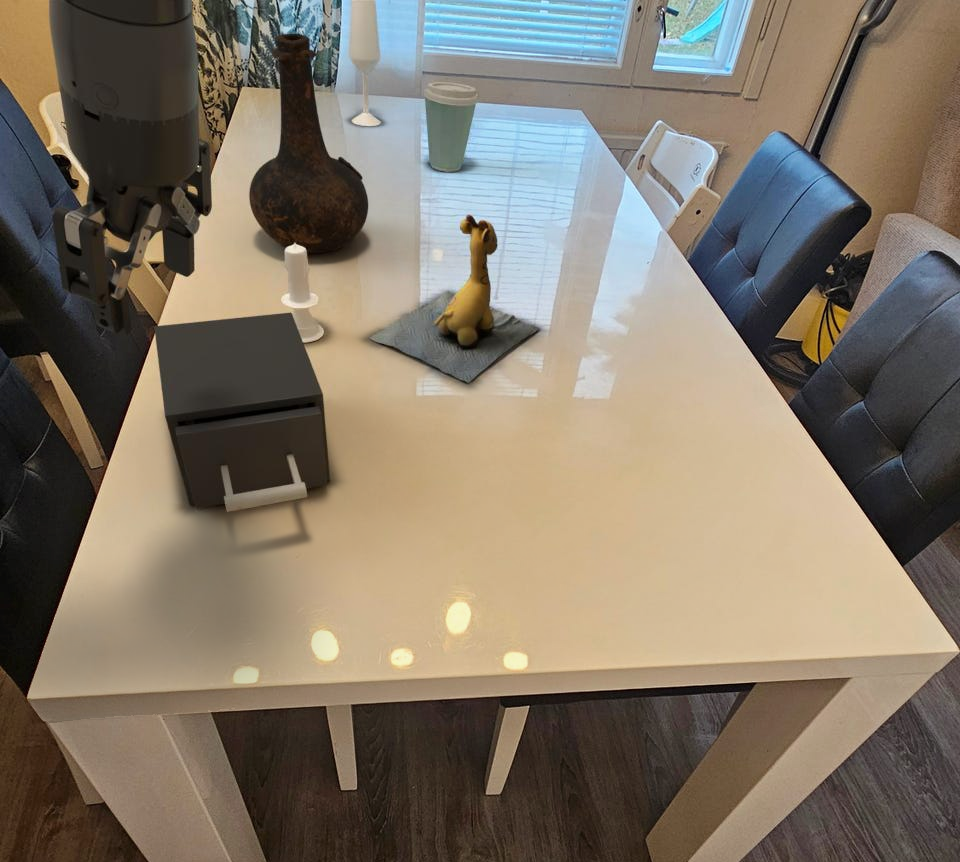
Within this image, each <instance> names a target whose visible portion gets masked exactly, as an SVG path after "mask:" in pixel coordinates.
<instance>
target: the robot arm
mask: <svg viewBox="0 0 960 862" xmlns="http://www.w3.org/2000/svg"><path fill="white" fill-rule="evenodd" d="M48 20H49V21H48V22H49V30H50V31H49V32H50V37H51V38H50V39H51V45H52V50H53V57H54V64H55V68H56V75H57V81H58V82H57V83H58V88H59V94H60V99H61V106H62V113H63V119H64V124H65V131H66V137H67V143H68V146H69V149H70V151H71V153H72V154H73V156H74V157H75V159H76V160H77V161H78V163H79V165H80V166H81V167H82V169H83V170H84V171H85V173H86V176H87V177H88V189H87V194H86V203H85V204H84V205H82V206H80V207H79V208H77V209H75V210H72V209H69V208H68V207H65V206H63V205H59V206H57V207H55V209H54V211H53V212H52V216H51V217H52V219H51V221H52V225H53V226H52V227H53V233H54V239H55V246H56V254H57V260H58V261H57V262H58V267H59V274H60V280H61V287H62V290H63V291H64V292H66V293H68V294H71V295H74V296H76V297H78V298H81V299H83V300H85V301H87V302H90V303H91V304H92V311H93V315H94V323H95V324H96V325H97V327H99V328H101V329H103V330H105V331H107V332H110V333H112V334H114V335H117V336H118V337H122V338H125V337H126V336H127V335H128V334H129V333H131V331H132V329H133V328H132V320H131V312H130V311H131V310H130V303H129V296H128V295H129V294H128V292H127V288H128V284H129V281H130V277H131V275H132V273H133V270H134V269H139V268H140V267H141V266H142V264H143V261H144V257H145V255H146V251H147V248H148V245H149V242H151V240H152V239H153V238H154V236H155V235H156V234H157V233H159V232H161V233H162V235H161V236H162V250H163V251H162V252H163V263H164V266H165V267H166V268H167V269H168V270H170V271H172V272H173V273H176V274H178V275H181V276H183V277H186V278H188V277H190V276H191V275H192V274H194V272H195V270H196V269H195V235H197V233H198V231H199V229H200V225H201V222H200V219H199V218H200V217H201V216H204V217H208V216H209V215H210V213H211V211H212V207H213V199H212V198H213V197H212V170H211V166H212V165H211V147H210V146H211V145H210V143H209V142H208V141H206V140H204V139H201V138H200V117H199V115H200V114H199V113H200V112H199V111H200V110H199V109H200V107H199V105H200V104H199V103H200V102H199V55H198V54H199V53H198V44H197V37H196V30H195V24H194V13H193V0H48ZM189 185H190V186H192V187H194V188H195V190H196V192H197V193H194V192H192V191H190V190H189ZM107 231H108V232H109V233H110V234H111V235H113V236H114V237H116V238H118V239H119V240H122V241H124V242H127V243H129V245H128V247H127V248H126V250H123V249H120V248H118V247H116V246H113V245H111V244H110V243H109V238H108V237H107V236H105V234H106V232H107ZM106 258H108V259H110V260H112V261H114V263H115V267H114V271H113V275H112V277H111V276H110V275H108V270H107V259H106ZM81 273H82V274H81Z"/></svg>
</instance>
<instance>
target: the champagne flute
mask: <svg viewBox="0 0 960 862" xmlns="http://www.w3.org/2000/svg"><path fill="white" fill-rule="evenodd" d="M377 16H378V15H377V5H376V0H350V22H349V23H350V25H349V43H348V44H349V47H348V48H349V49H348V56H349V59H350V62H351V63H352V64H353V65H354V66H355V68H356V69H357V70H358V72H360V73H362V107H363V110H362V111H363V112H361V113H360V114H359V115H357V116H355V117H353V118H352V119H351V123H352V124H355V125H357V126H362V127H376V126H379V125H381V124H382V122H381V120H379V119H378V118H377V117H375V116H374V115H373V114H371V113H370V112H369V111H370V110H369V109H370V108H369V73H371V72H372V71H373V70H374V69H375V68H376V66H377V65H378V64H379V62H380V60H381V51H380V49H381V48H380V38H379V27H378V17H377Z"/></svg>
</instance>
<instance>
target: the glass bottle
mask: <svg viewBox="0 0 960 862" xmlns="http://www.w3.org/2000/svg"><path fill="white" fill-rule="evenodd" d="M275 41H276V45H277V46H276V48H274V49H272V51H271V56H272V57H273V58H275V59H277V60H278V71H279V72H278V73H279V95H280V137H279V146H278V152H277V154H276V156H275V157H273V158H272V159H269V160H268V161H267V162H265V163H263V164H262V165H261V166H260V167H259V168H258V169H257V171H256V172H255V174H254V176H253V177H252V179H251V181H250V184H249V185H250V186H249V190H248V191H249V192H248V200H249V205H250V210H251V213H252V214H253V217H254V219H255V220H256V222H257V224H258V225H259V227H260V228H261V229H262V231H264V233H266V234H267V235H268V237H269V238H271V239H272V240H273V241H275V242H276V243H278V244H279V245H281V246H283V247H285V248H287V247H288V246H291V245H293V244H294V243H296V244H297V245H299V246H302V247H304V248H306V251H307V253H312V254H313V253H326V252H327V253H328V252H333V251H336V250H338V249H340V248H343V247H344V246H346V245H348V244H349V243H351V242H352V241H353V240H354V239H355V238H356V237H357V236H358V235H359V234H360V232H361V231H362V229H363V227H364V225H365V224H366V221H367V218H368V214H369V198H368V193H367V189H366V187H365V184H364V183H363V175H362V174H361V173H360V172H359V171H358V170H357V169H356V168H355V167H354V166H353V165H352V164H351V163H350V162H349V161H348V160H346V159H345V158H344V157H342V156H338V158H334V157H332V156H330V154H329V151H328V149H327V147H326V144H325V140H324V137H323V132H322V128H321V124H320V117H319V113H318V105H317V99H316V91H315V83H314V78H313V70H312V60H311V59H313V58H315V57H316V56H318V53H317V52H316V51H315V50H312V49H311V48H310V45H311V38H310V37H309V36H307V35H304V34H301V33H292V32H291V33H283V34H277V36H276V37H275Z"/></svg>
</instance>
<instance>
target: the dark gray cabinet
mask: <svg viewBox="0 0 960 862" xmlns="http://www.w3.org/2000/svg"><path fill="white" fill-rule="evenodd" d="M292 314H293V312H290V311H289V312H283V313H271V314H262V315H252V316H242V317H233V318H223V319H222V318H221V319H213V320H204V321H203V320H202V321H193V322H183V323H174V324H163V325H155V326H154V327H153V329H154V336H155V345H156V352H157V353H156V354H157V361H158V370H159V378H160V386H161V395H162V403H163V411H164V417H165V421H166V425H167V428H168V432H169V436H170V441H171V443H172V446H173V450H174V454H175V457H176V461H177V465H178V469H179V472H180V477H181V479H182V482H183V483H182V484H183V487H184V490H185V493H186V497H187V501H188V505H189V506H195V503H194V500H193V496H192V492H191V488H190V485H189V481H188V477H187V474H186V470H185V466H184V462H183V459H182V455H181V451H180V447H179V444H178V440H177V436H176V430H175V427H179V426H186V425H185V421H188V420H195V419H202V418H209V417H216V416H223V415H230V414H237V413H244V412H251V411H258V410H265V409H272V408H279V407H286V406H293V405H300V404H307V406H308V408H310V407H317V406H318V407H319V409H320V412H321V418H322V429H323V441H324V452H325V464H326V476H327V482H328V481H330V480H331V476H330V475H331V474H330V464H329V463H330V461H329V450H328V439H327V427H326V415H325V403H324V393H323V390H322V388H321V385H320V383H319V380H318V378H317V377H318V376H317V375H316V373H315V370H314V367H313V364H312V362H311V359H310V356H309V354H308V352H307V349H306V346H305V343H303V341H302V338H301V336H300V333H299V331H298V328H297V326H296V323H295V320H294V318H293V315H292Z"/></svg>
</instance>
